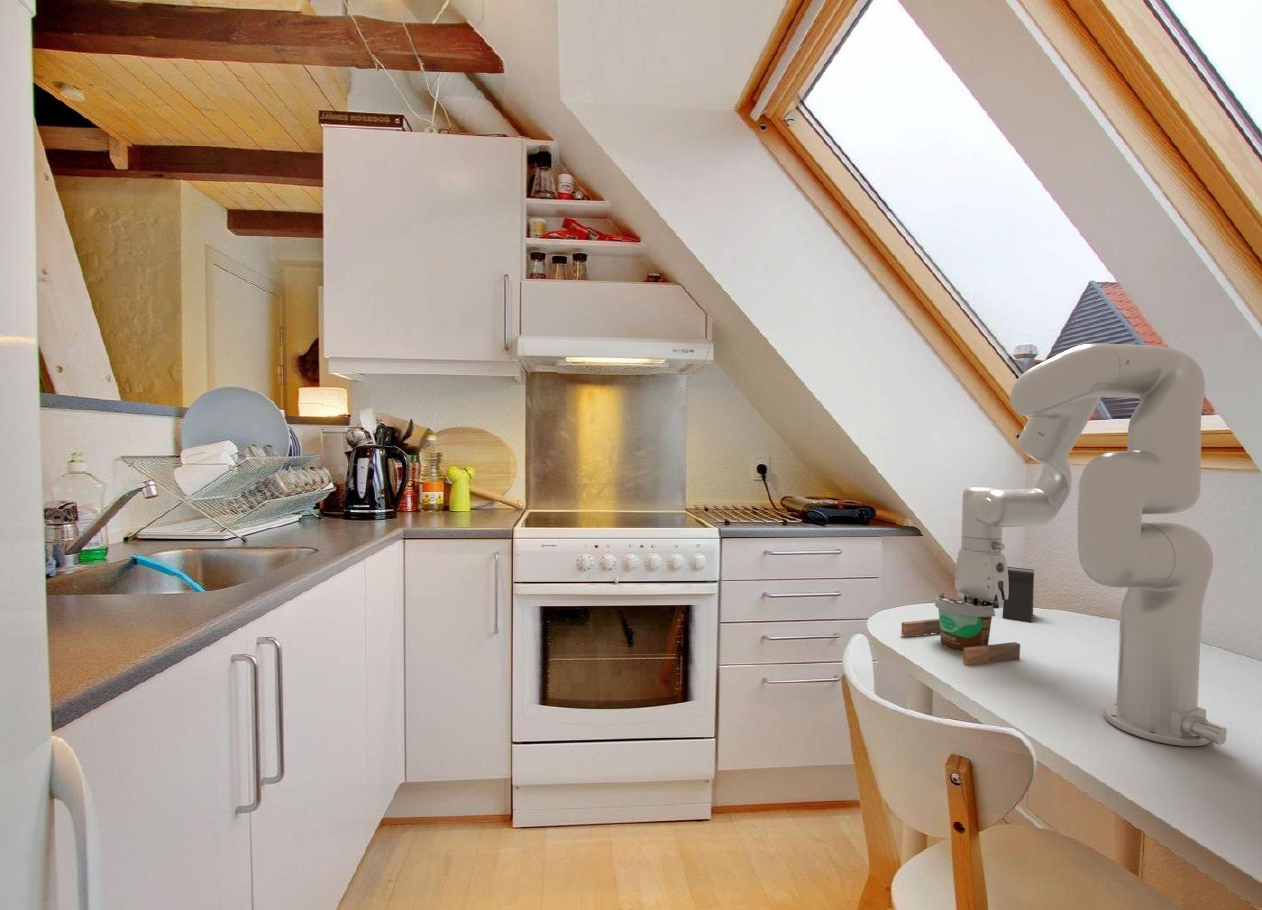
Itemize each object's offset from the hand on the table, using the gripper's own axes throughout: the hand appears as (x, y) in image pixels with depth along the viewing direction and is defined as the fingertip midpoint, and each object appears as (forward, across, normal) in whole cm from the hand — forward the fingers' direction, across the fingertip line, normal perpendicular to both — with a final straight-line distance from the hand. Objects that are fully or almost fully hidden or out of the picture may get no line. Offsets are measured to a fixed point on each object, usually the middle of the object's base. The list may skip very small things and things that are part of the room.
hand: (978, 629), depth 134 cm
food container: (+3, 0, +6) cm, 7 cm away
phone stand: (+3, +14, -27) cm, 31 cm away
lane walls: (+3, 0, +6) cm, 6 cm away
